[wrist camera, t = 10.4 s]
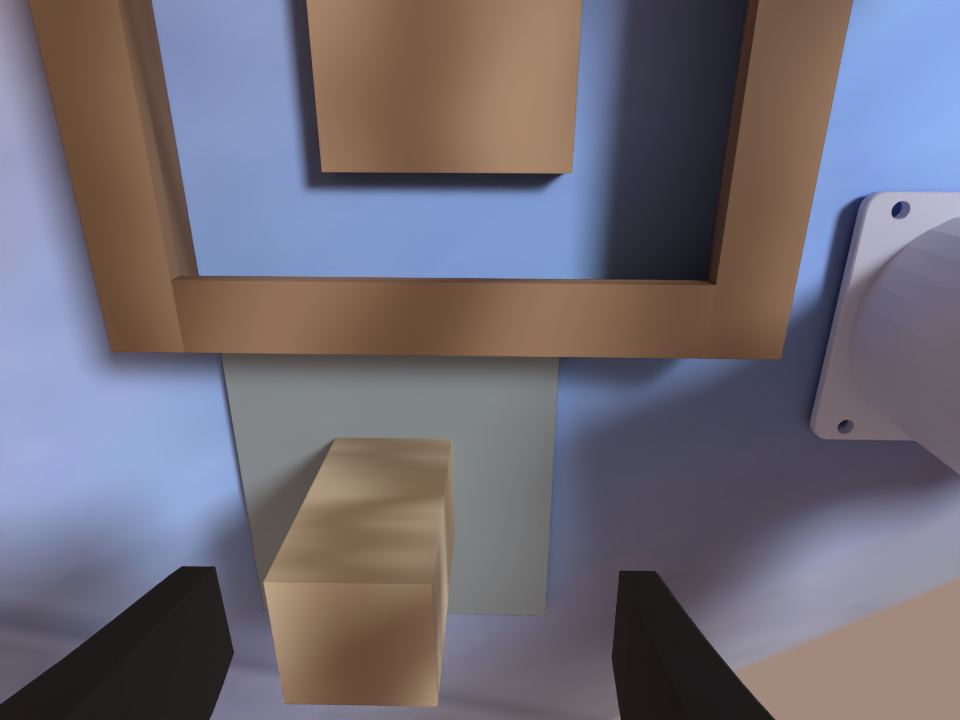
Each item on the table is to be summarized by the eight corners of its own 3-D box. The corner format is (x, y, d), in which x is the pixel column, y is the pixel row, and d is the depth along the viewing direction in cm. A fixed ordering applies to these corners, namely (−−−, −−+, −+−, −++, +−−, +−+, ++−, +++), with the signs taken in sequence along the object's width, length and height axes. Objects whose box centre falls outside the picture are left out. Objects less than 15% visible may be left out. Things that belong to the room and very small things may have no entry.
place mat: (558, 346, 20) (559, 350, 20) (544, 607, 24) (545, 615, 24) (225, 342, 20) (219, 346, 20) (267, 602, 24) (263, 609, 24)
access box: (846, -371, 14) (957, -526, 10) (733, 318, 19) (780, 359, 16) (46, -360, 14) (-92, -506, 11) (174, 312, 20) (111, 351, 17)
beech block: (451, 438, 21) (432, 584, 14) (454, 534, 22) (437, 706, 16) (335, 437, 21) (263, 582, 14) (345, 533, 22) (284, 704, 16)
